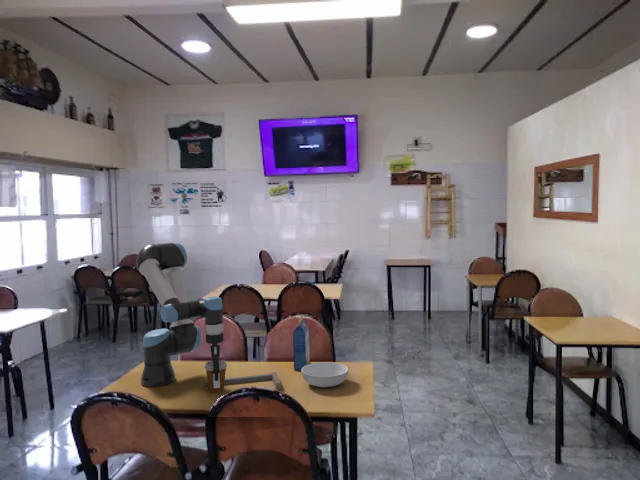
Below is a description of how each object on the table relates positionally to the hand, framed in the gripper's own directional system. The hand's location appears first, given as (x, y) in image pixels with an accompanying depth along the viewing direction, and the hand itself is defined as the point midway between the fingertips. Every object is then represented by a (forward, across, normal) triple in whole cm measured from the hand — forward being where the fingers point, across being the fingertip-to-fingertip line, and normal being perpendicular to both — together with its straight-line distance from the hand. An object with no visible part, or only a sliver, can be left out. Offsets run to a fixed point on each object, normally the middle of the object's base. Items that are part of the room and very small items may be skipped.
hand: (216, 383), depth 211 cm
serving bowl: (+3, -7, -47) cm, 48 cm away
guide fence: (+3, 0, -11) cm, 11 cm away
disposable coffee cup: (+3, 0, 0) cm, 3 cm away
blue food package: (+3, +20, -42) cm, 47 cm away
